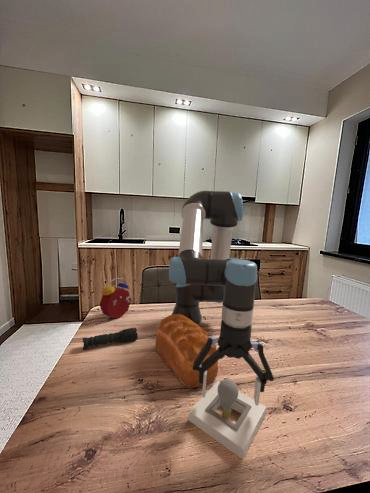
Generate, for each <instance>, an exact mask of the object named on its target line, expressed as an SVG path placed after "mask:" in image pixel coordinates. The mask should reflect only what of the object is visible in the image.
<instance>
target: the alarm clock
mask: <svg viewBox="0 0 370 493" xmlns="http://www.w3.org/2000/svg"><path fill="white" fill-rule="evenodd" d="M114 280H123V278H119V277H115V278H113V279H112V280H109V284H108V285H107V286H105V287H104V288H103V290H102V292H101V293H102V297H101V299H100V303H99V307H100V310H101V312H102V314H103V315H105V316H107V317H106V320H109V319H110V318H113V319H120V318H122V317H123V316H124V315H125V314H126V313H127V312H128V311H129V308H130V307H131V306H130V305H131V302H132V296H131V295H130V292H129V289H130V287H129V284H127V283H126V282H125V281H121V282H119V283H117V285H116V284H113V285H111V283H112V282H113V281H114ZM116 286H117V287H116ZM126 289H128V290H126Z"/></svg>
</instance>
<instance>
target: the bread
mask: <svg viewBox="0 0 370 493" xmlns="http://www.w3.org/2000/svg"><path fill="white" fill-rule="evenodd" d="M208 335H209V333H208V332H207V331H206V330H205V329H202V327H201V326H199V324H198V325H197V324H196V323H194V322H193V321H192V320H190V319H189V318H187V317H186V316H184V315H181V314H173V315H172V314H170V315H168V316H166V317H164V318H162V319H161V321H160V323H159V325H158V332H157V333H156V336H155V350H156V352H157V354H158V355H159V356H160V357H161V358H162V360H163V361H164V363H165V364H166V366H168V368H169V369H171V370H172V372H173V374H174V376H176V377H177V379H178V380H179V381H180V383H182V384H183V385H184V387H188V388H191V389H192V388H197V387H199V386H203V384H201V383H199V371H197V370H193V363H194V360H195V359H196V357H197V356H198V354H199V353H200V351H201V350H202V348H203V347H204V345H205V344H206V342H207V338H208ZM217 349H218V347H217V344H215V345H214V346H213V347H212V346H211V349H210V351H209V352H208V354H207V355H206V357H205V358H204V360H203V361H202V363H203V362H204V361H205V360H206V359H207V358H208V357H209V356H210V355H212V354H213V353H214V352H215V351H216V350H217ZM218 373H219V360H218V361H217V362H216V363H215V364H213V365H212V366H211V367H210V368H209V369H208V370H207V377H206V384H208V383H211V382H212V381H214V380H215V379H216V378H217V377H218Z"/></svg>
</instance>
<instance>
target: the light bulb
mask: <svg viewBox="0 0 370 493" xmlns="http://www.w3.org/2000/svg"><path fill="white" fill-rule="evenodd" d="M238 392H240V391H239V388H238V385H237V383H236V382H235V381H234V380H232V379H231V378H224V379H222V380H221V381H220V383H219V385H218V395H219V398H220V400H221V401H222V404H221V405H222V416H223V417H224V418H226V419H229V418H231V412H232V408H231V406H232V404H233V403H234V402H235V401H236V399H237V398H238Z"/></svg>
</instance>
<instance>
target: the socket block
mask: <svg viewBox="0 0 370 493" xmlns="http://www.w3.org/2000/svg"><path fill="white" fill-rule="evenodd" d="M220 382H221V381H220V380H217V381H216V382H215V383H214V384H213V385H212V386H211V388H209V389H208V391H206V392H205V397H202V396H201V398H200V399H199V400H198V401H197V403H195V405H193V407H192V408H191V409H190V410H189V413H188V422H190V423H192V424H193V425H194V426H195V427H197V428H199V429H200V430H201V431H203V432H205V434H207V435H208V436H210V437H211V438H213V439H214V440H215V441H216V442H218V443H219V444H220V445H222V446H223V447H225V448H226V449H228V450H229V451H230V452H232V453H233V454H235V455H236V456H237V457H238V458H240V459H242V460H243V459H244V457H245V456H246V453H247V452H248V449H250V448H249V447H250V446H251V444H252V442H253V441H254V438H255V436H256V434H257V432H258V430H259V428H260V427H261V425H262V423H263V421H264V419H265V418H266V414H267V406H266V405H264V404H262V403H261V402H259V406H257V405H255V400H254V398H251V397H249V396H248V395H246V394H244V393H243V392H240V391H239V392H238V398H237V399H236V401H235V402H234V403H233V404H232V406H231V410H234V411H236V412H238V413H239V414H241V415H240V416H239V418H238V419H237V421H236V422H235V423H233V422H232V421H231V420H229V419H228V418H225V417H224V416H223V415H221V414H219V413H218V412H217V410H219V408H220V406H222V405H223V404H222V401H221V400H220V398H219V395H218V385H219V383H220Z"/></svg>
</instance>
